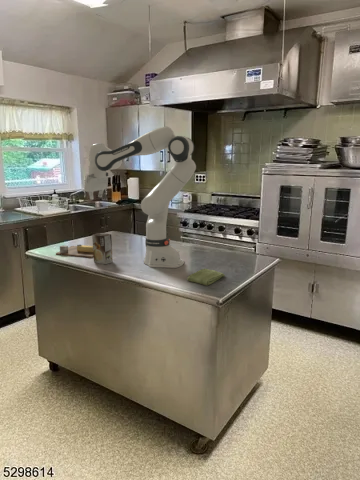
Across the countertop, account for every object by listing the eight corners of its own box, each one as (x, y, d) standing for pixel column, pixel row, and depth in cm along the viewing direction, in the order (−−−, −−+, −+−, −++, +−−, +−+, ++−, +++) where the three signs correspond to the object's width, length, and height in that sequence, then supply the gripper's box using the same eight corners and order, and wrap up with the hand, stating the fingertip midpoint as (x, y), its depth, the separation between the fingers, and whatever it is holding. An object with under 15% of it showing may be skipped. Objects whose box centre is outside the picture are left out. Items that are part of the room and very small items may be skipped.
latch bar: (76, 252, 217) (76, 245, 216) (79, 250, 220) (78, 244, 219) (98, 253, 213) (97, 247, 212) (100, 252, 216) (100, 246, 215)
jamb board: (105, 250, 226) (105, 242, 224) (91, 258, 209) (91, 249, 208) (72, 247, 232) (71, 239, 231) (55, 254, 215) (55, 246, 214)
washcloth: (225, 277, 180) (226, 271, 179) (208, 287, 166) (208, 281, 165) (203, 272, 187) (203, 266, 186) (184, 281, 173) (184, 275, 172)
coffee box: (113, 261, 202) (112, 234, 198) (106, 264, 197) (104, 236, 193) (100, 259, 206) (99, 232, 202) (93, 262, 201) (91, 234, 197)
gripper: (92, 175, 187) (91, 201, 190) (110, 173, 206) (109, 196, 210) (81, 174, 188) (81, 199, 192) (100, 171, 207) (99, 195, 211)
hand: (96, 198), depth 201 cm, fingers open, 8 cm apart
